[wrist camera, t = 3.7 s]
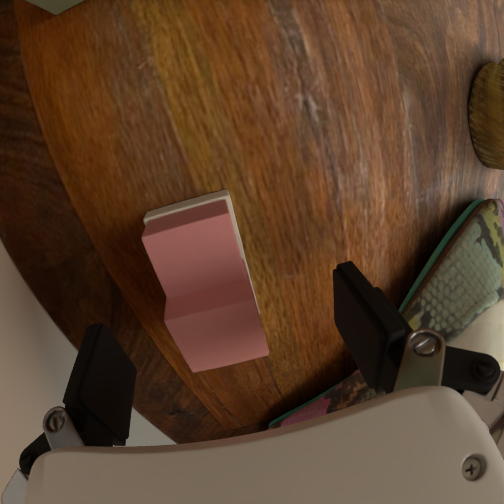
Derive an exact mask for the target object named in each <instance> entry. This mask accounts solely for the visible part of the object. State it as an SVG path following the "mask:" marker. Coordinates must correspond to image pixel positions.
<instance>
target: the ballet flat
mask: <svg viewBox="0 0 504 504" xmlns="http://www.w3.org/2000/svg"><path fill="white" fill-rule="evenodd" d="M398 311H399V312H400V314H401V315H402V316H403V317H404V319H405V320H406V321H407V323H408V324H409V325H410V326H411V328H412V329H413V330H416V329H420V328H429V329H433V330H435V331H437V332H439V333H440V334H441V335H442V336H443V338H444V340H445V345H446V346H451V347H456V348H460V349H465V350H470V351H475V352H480V353H485V354H488V355H491V356H492V357H494V358H495V359H496V360H497V361H498V363H499V365H500V370H502V371H504V201H503V200H501V199H487V200H484V199H477V200H475V201H474V202H473V203H471V204H470V205H469V206H468V207H467V209H466V210H465V211H464V212H463V213H462V214H461V215H460V217H459V218H458V219H457V220H456V221H455V223H454V224H453V225H452V227H451V228H450V229H449V231H448V232H447V233H446V235H445V236H444V237H443V239H442V240H441V242H440V243H439V245H438V246H437V248H436V249H435V251H434V252H433V254H432V255H431V257H430V259H429V260H428V262H427V263H426V265H425V267H424V268H423V270H422V271H421V273H420V274H419V276H418V278H417V279H416V281H415V283H414V284H413V286H412V288H411V289H410V291H409V293H408V294H407V296H406V298H405V299H404V301H403V303H402V305H401V307H400V308H399V310H398ZM385 394H386V393H385V391H384V392H382V393H379V394H376V392H375V390H374V388H372V389H369V388H368V386H367V384H366V382H365V380H364V378H363V376H362V374H361V372H360V370H359V369H357V370H356V371H355V372H354V373H353V374H352V375H351V376H349V377H348V378H346V379H344V380H343V381H341V382H340V383H338V384H336V385H335V386H333V387H332V388H330V389H329V390H327V391H325V392H324V393H322V394H320V395H319V396H317V397H315V398H313V399H312V400H310V401H308V402H306V403H305V404H303V405H301V406H299V407H297V408H295V409H293V410H291V411H289V412H287V413H285V414H284V415H282V416H280V417H278V418H277V419H275V420H273V421H272V422H271V423H270V424H269V428H268V429H267V430H271V429H275V428H280V427H284V426H288V425H291V424H295V423H299V422H302V421H306V420H309V419H313V418H316V417H319V416H323V415H326V414H329V413H332V412H335V411H339V410H342V409H345V408H348V407H350V406H353V405H356V404H359V403H362V402H364V401H367V400H370V399H373V398H376V397H379V396H382V395H385ZM267 430H265V431H267Z"/></svg>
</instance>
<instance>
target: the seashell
mask: <svg viewBox="0 0 504 504" xmlns="http://www.w3.org/2000/svg"><path fill="white" fill-rule="evenodd" d="M469 116H470V118H469V124H470V131H471V135H472V139H473V146H474V149H475V152H476V154H477V155H478V157H479V159H480V161H481V162H483V164H484V165H486V166H487V167H488V168H493V169H499V170H504V58H503V59H502V60H501V61H500V62H499V64H496V63H494V62H490V63H488V64H486V65H484V66H483V67H482V68H481V70H480V71H479V72H478V73H477V74H476V79H475V81H474V82H473V88H472V93H471V100H470V102H469Z"/></svg>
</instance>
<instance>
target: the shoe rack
mask: <svg viewBox="0 0 504 504" xmlns="http://www.w3.org/2000/svg"><path fill="white" fill-rule="evenodd" d="M26 1H28V2H30V3H32V4H34V5H36V6H38V7H41V8H43V9H45V10H47V11H49V12H51V13H52V14H54V15H58V14H60V13H61V12H63V11H65V10H67V9H69V8H71V7H73V6H75V5H77V4H79V3H81V2H83V1H84V0H26Z"/></svg>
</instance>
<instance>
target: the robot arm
mask: <svg viewBox="0 0 504 504" xmlns="http://www.w3.org/2000/svg"><path fill="white" fill-rule="evenodd" d="M333 289H334V319H335V324H336V327H337V329H338V331H339V333H340V334H341V336H342V338H343V340H344V342H345V344H346V346H347V347H348V349H349V351H350V353H351V355H352V357H353V359H354V361H355V363H356V365H357V366H358V368H359V370H360V372H361V374H362V376H363V378H364V380H365V382H366V384H367V386H368V388H369V389H372V388H374V390H375V392H376V394H379V393H382V392H384V391H385V393H386V394H385V395H382V396H379V397H376V398H373V399H370V400H367V401H364V402H362V403H359V404H356V405H353V406H350V407H348V408H345V409H342V410H339V411H335V412H332V413H329V414H326V415H323V416H319V417H316V418H313V419H309V420H306V421H302V422H299V423H295V424H291V425H288V426H284V427H280V428H275V429H271V430H267V431H262V432H257V433H252V434H247V435H242V436H237V437H231V438H225V439H218V440H211V441H204V442H196V443H186V444H176V445H162V446H142V447H141V446H139V447H113V445H114V446H125V443H126V439H128V437H129V428H130V419H131V410H132V402H133V395H134V388H135V381H136V374H137V372H136V368H135V366H134V364H133V363H132V361H131V360H130V359H129V357H128V356H127V355H126V353H125V352H124V350H123V349H122V347H121V346H120V345H119V343H118V342H117V340H116V339H115V337H114V336H113V334H112V333H111V331H110V330H109V328H108V327H107V326H104V324H102V323H97V324H92V325H89V326H88V328H87V331H86V334H85V336H84V339H83V341H82V344H81V347H80V349H79V352H78V355H77V358H76V361H75V364H74V367H73V370H72V373H71V376H70V379H69V382H68V385H67V388H66V392H65V395H64V398H63V403H64V404H65V408H63V407H61V406H57V407H53V408H52V409H50V410H49V411H48V412H47V413H46V415H45V416H44V419H43V430H44V433H43V434H41V435H40V436H39V437H38V438H37V439H36V440H35V441H34V442H32V443H31V444H30V445H29V446H28V447H27V448H26V449H24V450H23V452H22V453H21V455H20V459H19V465H20V468H21V470H20V469H19V468H17V470H16V472H15V473H14V475H13V476H12V478H11V480H10V481H9V483H8V484H7V486H6V488H5V490H4V491H3V493H2V504H504V371H502V370H500V365H499V363H498V361H497V360H496V359H495V358H494V357H492V356H491V355H488V354H485V353H480V352H475V351H470V350H465V349H460V348H456V347H451V346H446V345H445V340H444V338H443V336H442V335H441V334H440V333H439V332H437V331H435V330H433V329H429V328H420V329H416V330H413V329H412V328H411V326H410V325H409V324H408V323H407V321H406V320H405V319H404V317H403V316H402V315H401V314H400V312H399V311H398V310H397V309H396V307H395V306H394V305H393V304H392V302H391V301H390V300H389V299H388V297H387V296H386V295H385V294H384V293H383V291H382V290H381V289H380V288H378V287H375V288H373V286H372V285H371V284H370V283H369V281H368V280H367V279H366V278H365V277H364V275H363V274H362V273H361V272H360V271H359V269H358V268H357V267H356V266H355V265H354V263H353V262H352V261H348V262H345V263H341V264H338V265H337V267H336V269H334V270H333ZM482 421H483V422H485V423H486V424H487V426H488V428H489V432H488V430H487V428H486V427H485V425H484V423H483V422H482Z"/></svg>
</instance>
